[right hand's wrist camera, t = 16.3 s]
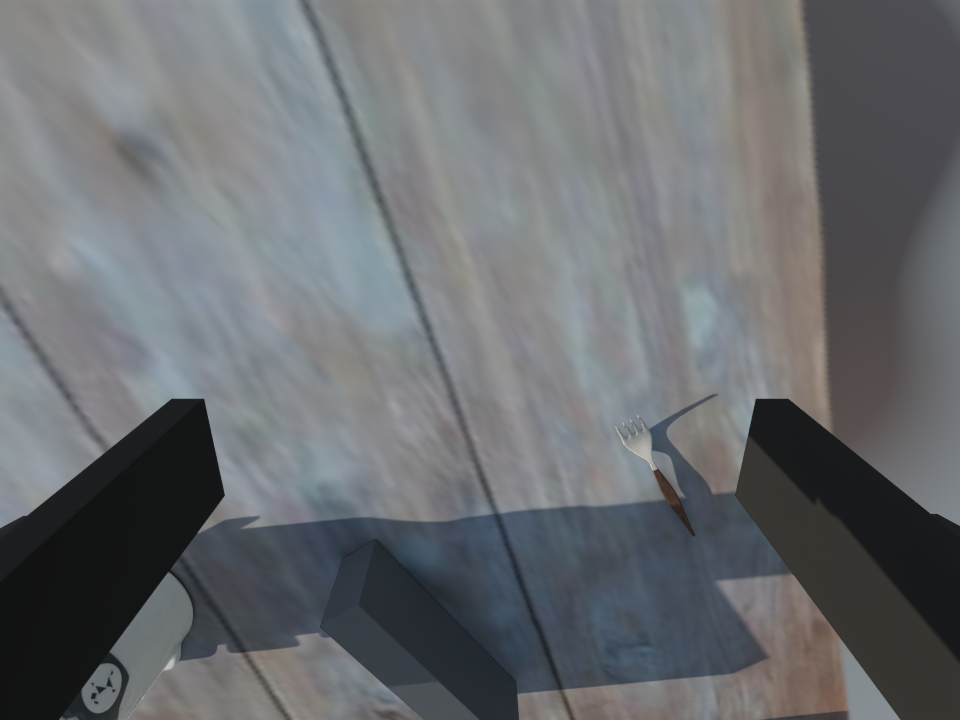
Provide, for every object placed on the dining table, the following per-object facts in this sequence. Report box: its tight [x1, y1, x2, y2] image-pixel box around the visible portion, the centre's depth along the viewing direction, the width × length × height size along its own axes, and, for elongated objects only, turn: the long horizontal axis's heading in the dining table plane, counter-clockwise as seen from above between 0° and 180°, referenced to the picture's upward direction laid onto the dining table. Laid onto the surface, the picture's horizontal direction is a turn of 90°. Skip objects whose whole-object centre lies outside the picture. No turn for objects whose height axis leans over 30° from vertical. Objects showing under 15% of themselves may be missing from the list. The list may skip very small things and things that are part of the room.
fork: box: [616, 415, 695, 536], centre depth 49 cm, size 3×16×2 cm, turn 32°
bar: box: [320, 539, 519, 720], centre depth 53 cm, size 25×4×8 cm, turn 36°
